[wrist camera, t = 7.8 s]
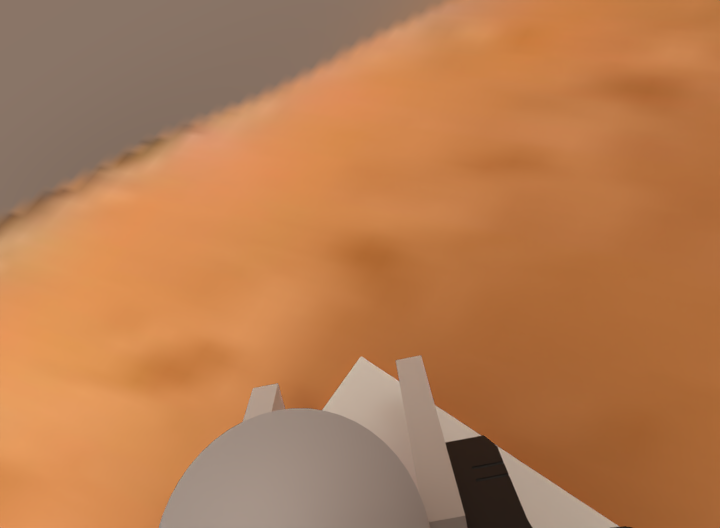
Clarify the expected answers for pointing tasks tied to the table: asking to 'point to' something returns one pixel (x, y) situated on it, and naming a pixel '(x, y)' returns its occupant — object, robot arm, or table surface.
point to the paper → (388, 421)
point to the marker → (296, 478)
